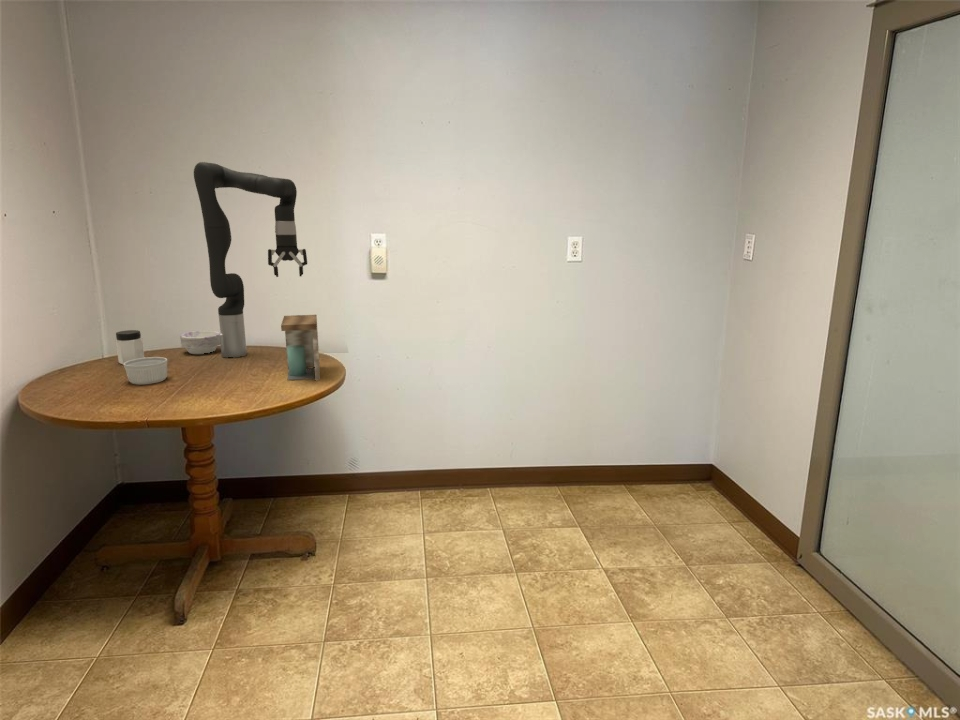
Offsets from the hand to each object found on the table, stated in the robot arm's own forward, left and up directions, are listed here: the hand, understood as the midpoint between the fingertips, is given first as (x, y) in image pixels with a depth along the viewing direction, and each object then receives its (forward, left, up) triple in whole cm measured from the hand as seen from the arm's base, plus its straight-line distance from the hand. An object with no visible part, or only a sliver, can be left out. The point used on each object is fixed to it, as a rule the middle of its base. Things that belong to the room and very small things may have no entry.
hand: (288, 276), depth 226 cm
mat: (+3, -24, -33) cm, 41 cm away
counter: (+4, -23, -33) cm, 40 cm away
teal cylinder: (+2, -24, -33) cm, 41 cm away
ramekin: (-48, -19, -33) cm, 61 cm away
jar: (-61, +11, -33) cm, 70 cm away
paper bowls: (-38, +24, -33) cm, 56 cm away
